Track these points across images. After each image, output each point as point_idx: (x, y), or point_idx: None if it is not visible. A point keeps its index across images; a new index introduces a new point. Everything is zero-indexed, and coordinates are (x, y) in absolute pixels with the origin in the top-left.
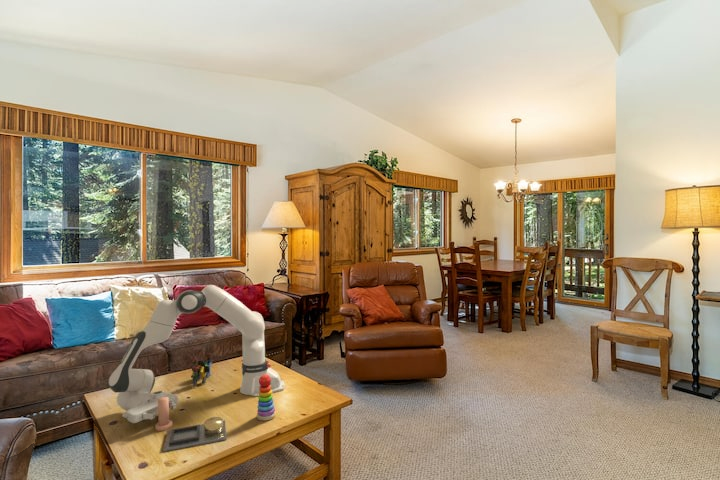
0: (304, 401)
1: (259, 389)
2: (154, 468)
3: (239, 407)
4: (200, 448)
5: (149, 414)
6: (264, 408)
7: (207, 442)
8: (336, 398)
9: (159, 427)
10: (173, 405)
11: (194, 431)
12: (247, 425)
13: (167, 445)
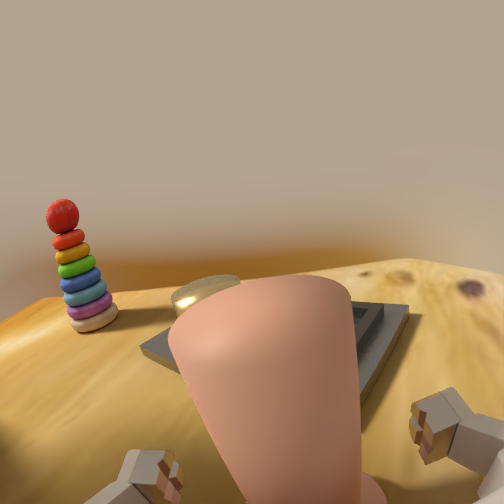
0: (32, 321)
1: (75, 237)
2: (440, 273)
3: (31, 389)
4: None
5: (472, 413)
6: (104, 281)
7: None
8: (33, 305)
9: (370, 478)
10: (155, 451)
11: None
12: (145, 318)
13: (390, 314)
